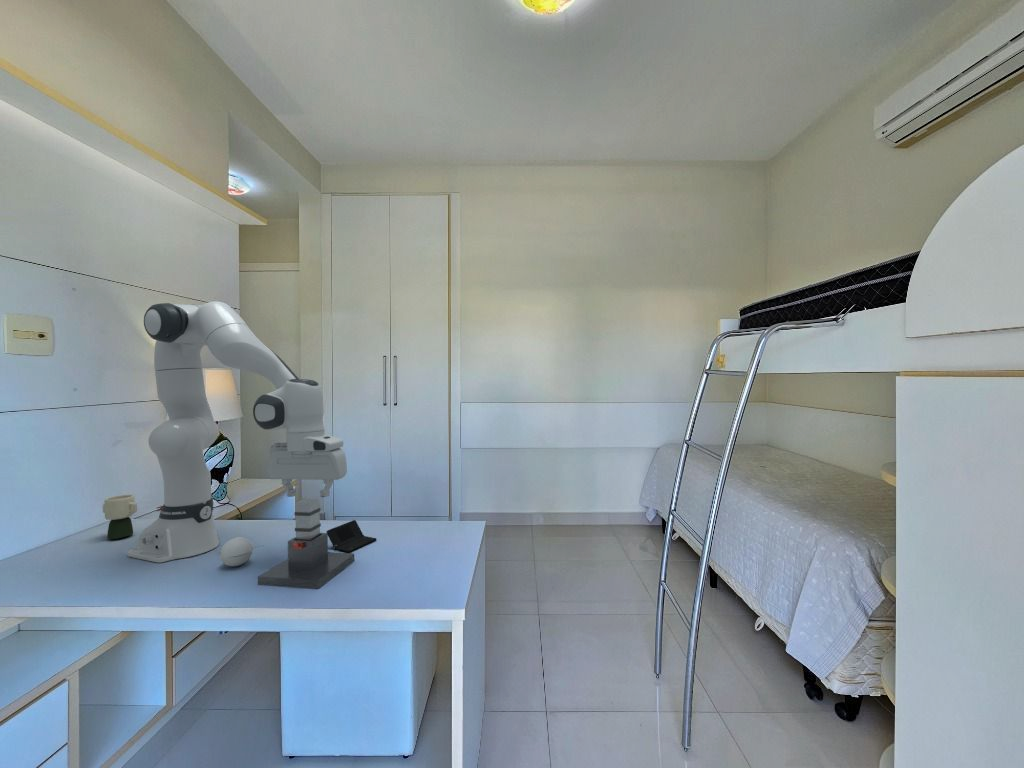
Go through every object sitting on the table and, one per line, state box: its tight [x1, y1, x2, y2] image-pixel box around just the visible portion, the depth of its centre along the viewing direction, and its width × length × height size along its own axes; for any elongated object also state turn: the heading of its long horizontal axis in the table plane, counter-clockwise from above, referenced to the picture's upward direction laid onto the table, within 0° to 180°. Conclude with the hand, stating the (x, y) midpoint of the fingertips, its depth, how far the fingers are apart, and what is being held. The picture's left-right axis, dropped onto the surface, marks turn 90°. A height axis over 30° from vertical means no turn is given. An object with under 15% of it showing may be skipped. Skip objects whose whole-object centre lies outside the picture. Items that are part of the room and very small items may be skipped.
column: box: [293, 498, 322, 541], centre depth 111 cm, size 4×4×16 cm
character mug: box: [102, 493, 138, 540], centre depth 139 cm, size 11×7×13 cm, turn 88°
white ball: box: [219, 536, 265, 568], centre depth 116 cm, size 10×7×7 cm
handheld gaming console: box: [325, 519, 377, 553], centre depth 129 cm, size 12×7×10 cm
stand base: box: [257, 532, 355, 590], centre depth 111 cm, size 16×16×9 cm
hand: (308, 496), depth 111 cm, fingers open, 8 cm apart
